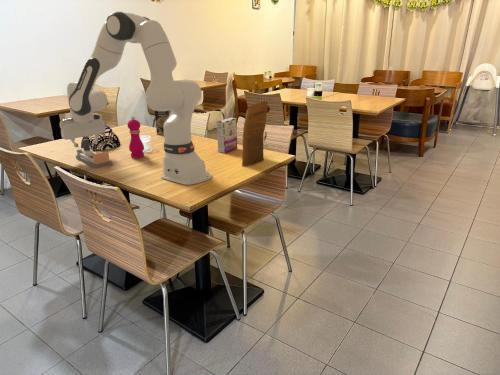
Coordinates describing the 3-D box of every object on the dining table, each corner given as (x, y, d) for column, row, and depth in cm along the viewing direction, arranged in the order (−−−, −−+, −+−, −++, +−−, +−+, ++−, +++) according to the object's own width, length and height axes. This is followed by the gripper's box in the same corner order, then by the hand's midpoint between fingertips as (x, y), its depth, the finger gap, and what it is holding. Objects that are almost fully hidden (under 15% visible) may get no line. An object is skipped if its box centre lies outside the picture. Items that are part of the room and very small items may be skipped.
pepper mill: (140, 158, 186) (136, 118, 179) (127, 158, 188) (122, 117, 180) (147, 154, 193) (143, 115, 186) (134, 154, 194) (129, 115, 187)
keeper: (93, 155, 186) (91, 140, 183) (86, 157, 184) (83, 141, 181) (89, 153, 189) (86, 138, 186) (82, 155, 187) (79, 139, 184)
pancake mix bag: (271, 158, 186) (272, 100, 175) (247, 168, 171) (247, 106, 161) (260, 156, 189) (260, 99, 179) (236, 166, 175) (235, 104, 165)
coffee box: (156, 134, 233) (153, 108, 227) (160, 132, 239) (158, 106, 233) (170, 135, 232) (168, 108, 226) (174, 132, 238) (172, 106, 232)
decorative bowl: (89, 153, 196) (84, 126, 191) (76, 146, 210) (71, 120, 205) (126, 146, 208) (122, 120, 203) (111, 140, 222) (108, 115, 217)
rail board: (112, 164, 178) (110, 152, 176) (95, 168, 173) (93, 155, 171) (92, 154, 193) (90, 143, 191) (76, 158, 188) (74, 146, 186)
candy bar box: (230, 147, 205) (229, 117, 199) (237, 148, 203) (237, 118, 197) (217, 152, 197) (216, 120, 191) (224, 153, 194) (224, 121, 188)
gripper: (61, 121, 171) (66, 150, 176) (104, 114, 184) (108, 142, 189) (56, 119, 175) (61, 148, 180) (99, 113, 188) (103, 140, 193)
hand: (86, 145), depth 185 cm, fingers open, 8 cm apart
